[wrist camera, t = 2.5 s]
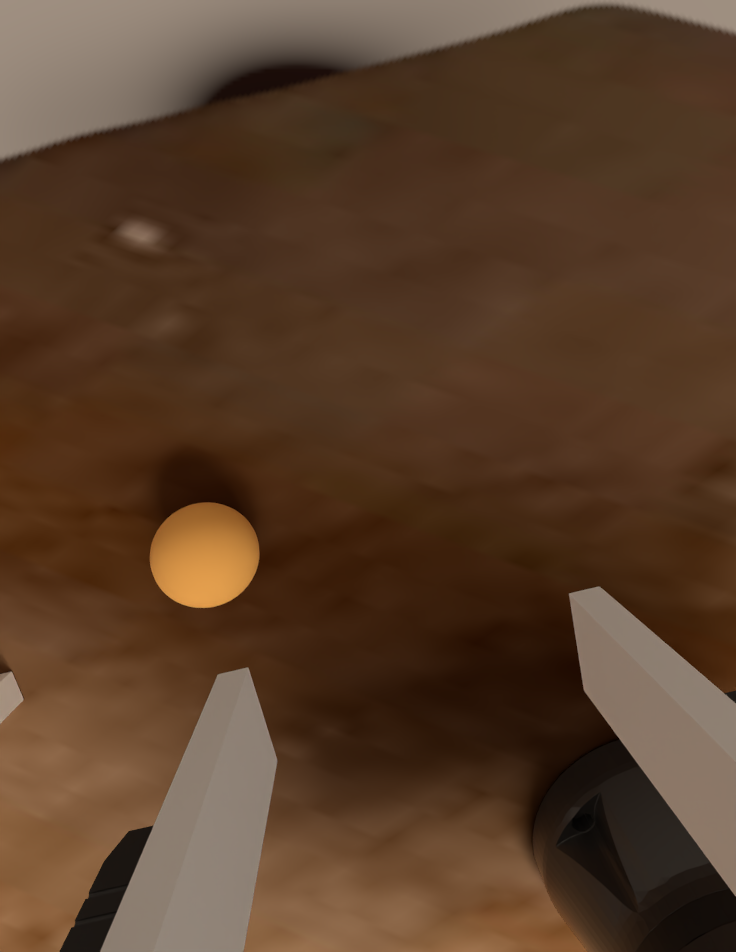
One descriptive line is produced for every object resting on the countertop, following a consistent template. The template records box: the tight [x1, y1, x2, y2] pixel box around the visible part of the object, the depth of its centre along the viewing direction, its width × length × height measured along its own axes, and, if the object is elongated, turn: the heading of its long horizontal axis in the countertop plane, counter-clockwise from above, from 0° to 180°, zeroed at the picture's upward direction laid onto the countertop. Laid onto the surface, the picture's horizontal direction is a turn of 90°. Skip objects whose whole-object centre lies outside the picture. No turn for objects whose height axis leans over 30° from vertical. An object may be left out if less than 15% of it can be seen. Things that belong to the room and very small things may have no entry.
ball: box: [150, 502, 260, 608], centre depth 27 cm, size 6×6×6 cm
